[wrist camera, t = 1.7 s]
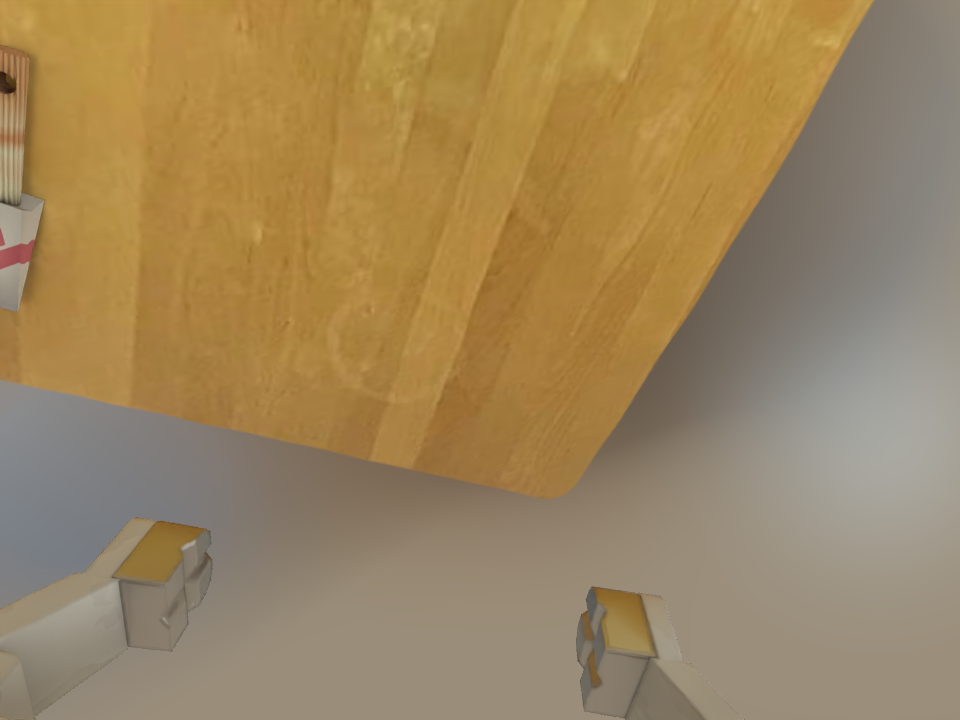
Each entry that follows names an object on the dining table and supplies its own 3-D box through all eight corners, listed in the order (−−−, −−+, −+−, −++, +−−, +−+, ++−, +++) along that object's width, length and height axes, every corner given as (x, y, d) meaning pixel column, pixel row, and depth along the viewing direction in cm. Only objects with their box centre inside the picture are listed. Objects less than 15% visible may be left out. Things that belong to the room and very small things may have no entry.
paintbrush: (-42, 306, 46) (-33, 38, 37) (-19, 292, 48) (-5, 37, 40) (13, 323, 47) (34, 66, 38) (33, 308, 49) (58, 64, 41)
